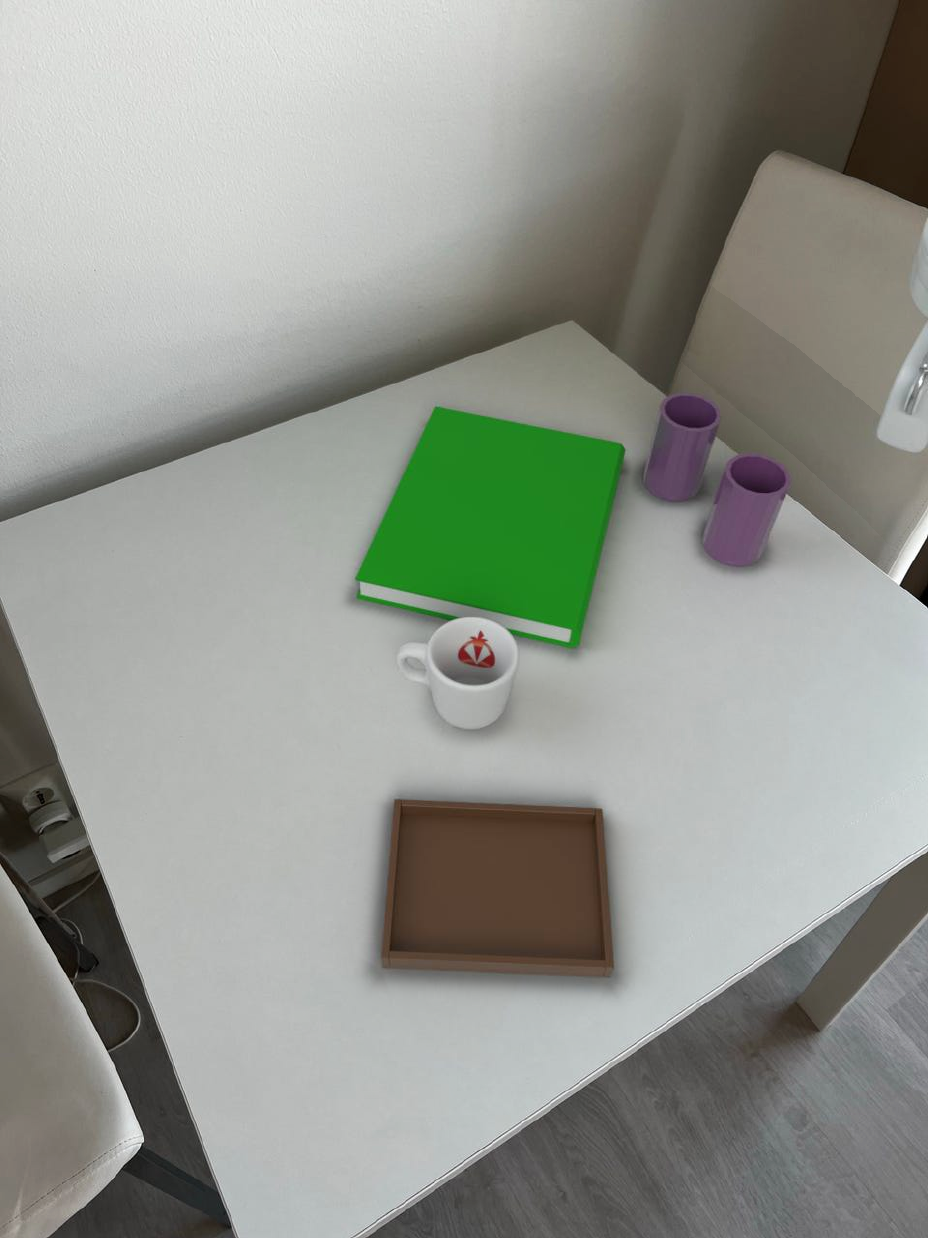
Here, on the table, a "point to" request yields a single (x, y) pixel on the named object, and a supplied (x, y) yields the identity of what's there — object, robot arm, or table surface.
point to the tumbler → (681, 446)
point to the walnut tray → (497, 889)
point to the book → (496, 526)
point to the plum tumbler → (745, 509)
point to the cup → (465, 670)
